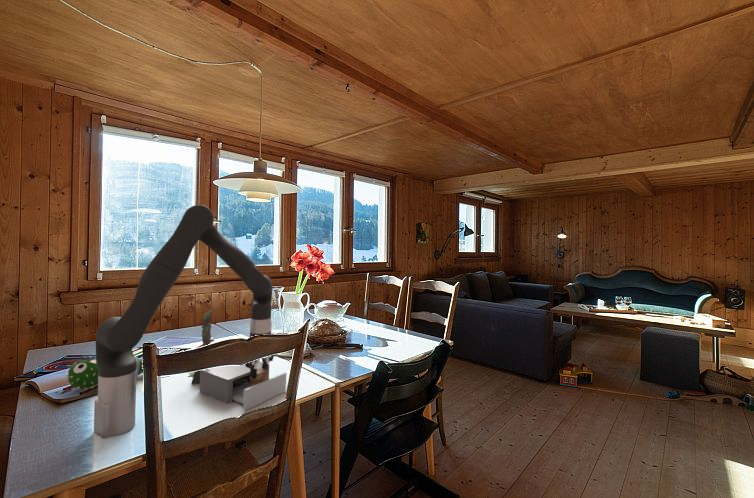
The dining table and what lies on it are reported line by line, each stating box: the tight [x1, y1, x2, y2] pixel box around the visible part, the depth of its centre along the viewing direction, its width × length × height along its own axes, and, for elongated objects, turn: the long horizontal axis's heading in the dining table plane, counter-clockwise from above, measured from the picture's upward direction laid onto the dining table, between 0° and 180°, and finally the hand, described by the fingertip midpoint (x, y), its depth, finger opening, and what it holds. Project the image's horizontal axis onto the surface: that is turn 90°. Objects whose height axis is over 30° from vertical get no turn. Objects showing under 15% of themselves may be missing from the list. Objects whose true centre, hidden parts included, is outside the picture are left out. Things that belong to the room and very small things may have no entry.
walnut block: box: [250, 368, 268, 385], centre depth 129 cm, size 4×4×4 cm
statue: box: [190, 307, 214, 385], centre depth 141 cm, size 7×8×30 cm
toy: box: [65, 356, 143, 391], centre depth 136 cm, size 22×11×30 cm
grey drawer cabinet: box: [199, 361, 270, 404], centre depth 135 cm, size 16×19×8 cm
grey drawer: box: [232, 372, 287, 412], centre depth 130 cm, size 16×19×7 cm
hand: (259, 375), depth 129 cm, fingers closed on walnut block, 4 cm apart
